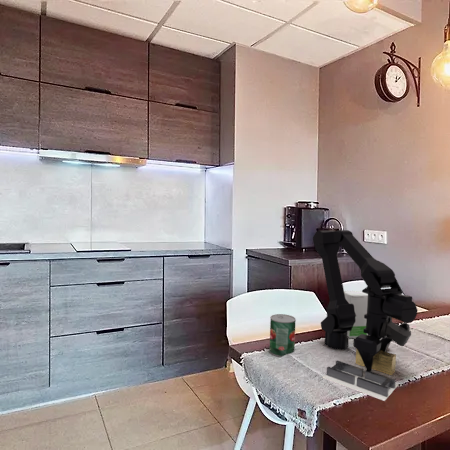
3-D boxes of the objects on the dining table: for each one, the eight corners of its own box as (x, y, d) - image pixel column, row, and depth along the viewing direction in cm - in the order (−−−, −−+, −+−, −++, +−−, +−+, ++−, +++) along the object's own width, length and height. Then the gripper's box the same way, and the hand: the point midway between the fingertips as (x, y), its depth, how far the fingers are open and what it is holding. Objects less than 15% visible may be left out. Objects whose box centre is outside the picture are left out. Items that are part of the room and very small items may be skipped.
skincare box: (347, 338, 127) (349, 295, 126) (338, 332, 133) (340, 290, 132) (369, 337, 128) (371, 294, 127) (358, 331, 135) (360, 290, 134)
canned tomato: (299, 356, 111) (300, 321, 110) (275, 358, 109) (277, 322, 108) (287, 346, 119) (288, 313, 118) (265, 348, 116) (266, 314, 116)
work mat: (321, 381, 95) (321, 377, 95) (339, 367, 104) (339, 364, 103) (384, 405, 85) (384, 400, 85) (398, 388, 93) (398, 384, 93)
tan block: (355, 367, 105) (356, 347, 104) (359, 364, 107) (360, 344, 106) (391, 379, 98) (392, 357, 98) (394, 375, 100) (396, 354, 100)
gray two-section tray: (326, 375, 97) (326, 367, 97) (336, 367, 102) (337, 360, 102) (386, 396, 86) (387, 388, 86) (395, 387, 91) (395, 379, 91)
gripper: (398, 326, 89) (394, 387, 90) (418, 311, 103) (414, 364, 104) (353, 316, 96) (351, 372, 97) (378, 303, 110) (375, 352, 111)
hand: (374, 365), depth 102 cm, fingers open, 9 cm apart
